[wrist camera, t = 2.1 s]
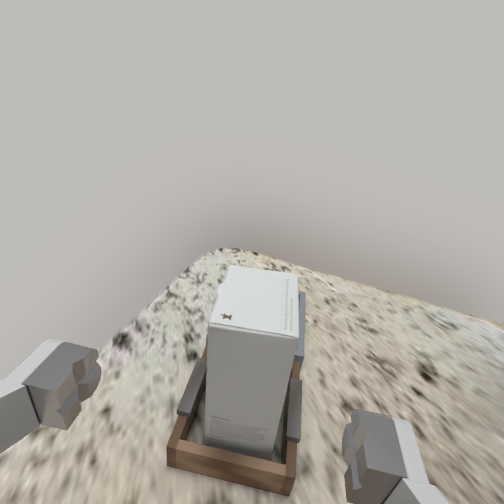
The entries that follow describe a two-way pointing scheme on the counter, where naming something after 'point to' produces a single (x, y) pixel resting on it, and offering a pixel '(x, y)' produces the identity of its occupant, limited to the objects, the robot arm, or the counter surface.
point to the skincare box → (250, 359)
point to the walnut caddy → (232, 463)
